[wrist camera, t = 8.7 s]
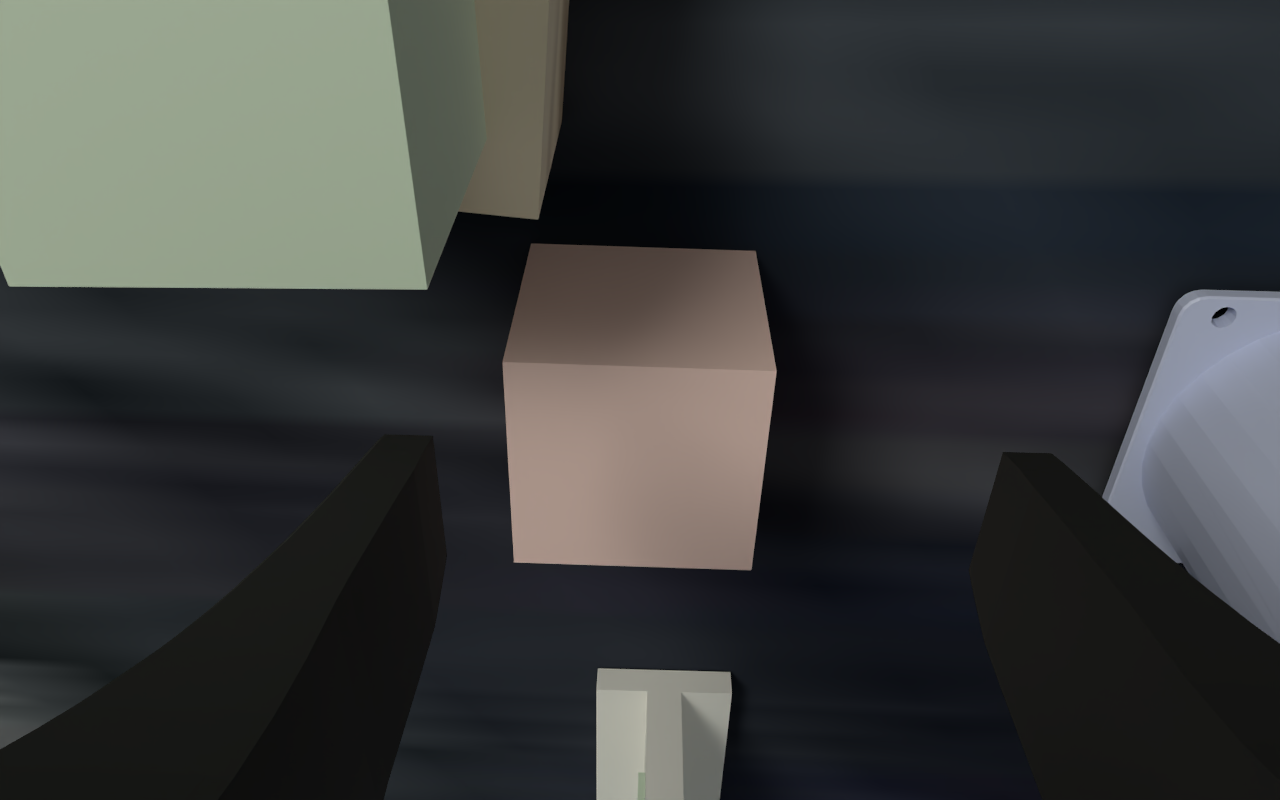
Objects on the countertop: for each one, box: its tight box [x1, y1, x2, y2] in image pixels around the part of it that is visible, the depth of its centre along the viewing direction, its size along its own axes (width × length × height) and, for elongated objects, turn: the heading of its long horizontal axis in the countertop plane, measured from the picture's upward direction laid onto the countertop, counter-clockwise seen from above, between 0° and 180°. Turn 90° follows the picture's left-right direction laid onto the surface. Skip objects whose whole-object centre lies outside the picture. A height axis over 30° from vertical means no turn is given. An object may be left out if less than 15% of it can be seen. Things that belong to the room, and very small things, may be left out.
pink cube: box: [503, 243, 777, 570], centre depth 22 cm, size 5×5×5 cm
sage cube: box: [0, 0, 487, 290], centre depth 13 cm, size 5×5×5 cm
